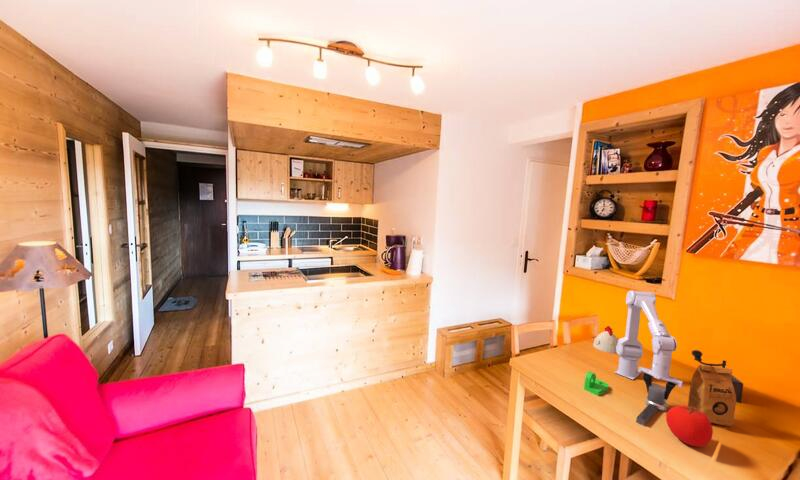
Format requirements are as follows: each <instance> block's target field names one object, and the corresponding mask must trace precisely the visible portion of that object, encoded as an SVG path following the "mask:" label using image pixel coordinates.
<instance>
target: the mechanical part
mask: <svg viewBox="0 0 800 480" xmlns="http://www.w3.org/2000/svg"><path fill="white" fill-rule="evenodd" d="M596 377H597V375H596V373H595V372H592V371H590V370H589V371H587V373H586V375H585V377H584V386H583V387H584V388H583V390H585V391H586V392H589V393H591V394H593V395H595V396H597V397H599V396H601V395H602V394H604V393H605V392H607V391H608V390H609V387H610V385H609V384H608V383H607V382H605V381H603V380H601V379H598V378H596Z"/></svg>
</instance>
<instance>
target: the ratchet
mask: <svg viewBox="0 0 800 480" xmlns="http://www.w3.org/2000/svg"><path fill="white" fill-rule="evenodd" d="M647 398H648V396H646V398H645V405H646V407H645V408H644V409H643V410H642V411H641V412H640V413H639V414H638V415H637V416H636V420H635V423H638V424H639V425H641V426H646V425H647V423H648V422H649V421H650V420H651V419H652V417H654V416H655V414H657V412H663V413H665V412H668V403H667V401H666V402H665V404H664V405H663V406H662V405H660V404H657V403H655V402H652V401H650V400H647Z"/></svg>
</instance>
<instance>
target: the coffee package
mask: <svg viewBox="0 0 800 480" xmlns="http://www.w3.org/2000/svg"><path fill="white" fill-rule="evenodd" d="M730 374H732V375H733V369H732V368H726V367H725V368H722V366H709V365H704V364H699V365H698V366H697V367H696V369H695V371H694V372H693V374H692V378H691V382H690V387H689V393H688V402H687V406H688V405H689V406H690V407H693V408H695V409H698V410H699V411H701V412H703V413H704V414H705V415H706V416H707V417H708V419H709V421H710V423H711V424H716V425H719V426H726V427H732V426H734V423H735V413H736V407H737V402H736V394H735V390H734V386H733V384H732V379H731V376H730Z"/></svg>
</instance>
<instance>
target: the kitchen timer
mask: <svg viewBox="0 0 800 480" xmlns="http://www.w3.org/2000/svg"><path fill="white" fill-rule="evenodd" d="M618 340H619V339H618V338H617V336H616V335H615V334H614V331H613V328H611V326H609V325H607V326H605V327H604V331H602V332H600V333H598V335H597V336H596V337H594V340H593V344H592V346H593V347H594V349H596V350H599V351H601V352H604V353H608V354H614V355H615V354H616V355H618V353H617V351H616V345H617V343H618Z"/></svg>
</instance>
